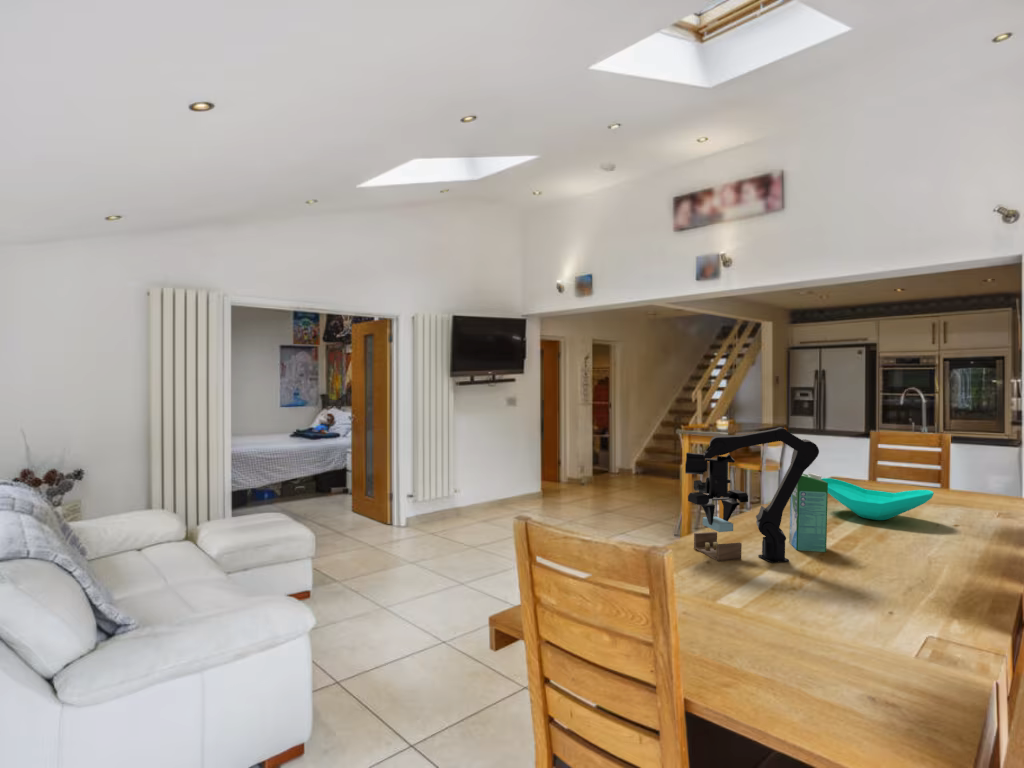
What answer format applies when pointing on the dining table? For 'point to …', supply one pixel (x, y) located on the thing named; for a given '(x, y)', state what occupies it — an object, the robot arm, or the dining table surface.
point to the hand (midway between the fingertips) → (717, 524)
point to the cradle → (716, 547)
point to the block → (718, 524)
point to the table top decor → (875, 500)
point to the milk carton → (809, 514)
